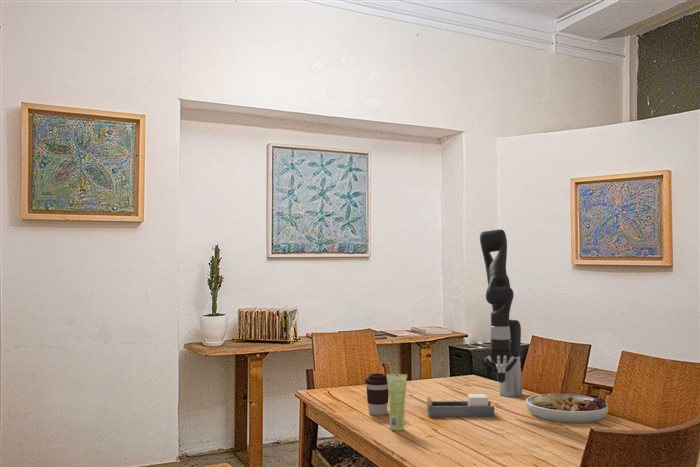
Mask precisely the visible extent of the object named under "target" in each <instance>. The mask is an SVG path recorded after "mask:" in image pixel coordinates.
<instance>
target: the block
mask: <svg viewBox="0 0 700 467" xmlns="http://www.w3.org/2000/svg"><path fill="white" fill-rule="evenodd" d="M467 401H468V406H488V401H489V397H488V396H487V394H486V393H479V394H478V393H467Z"/></svg>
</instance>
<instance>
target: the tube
mask: <svg viewBox="0 0 700 467" xmlns="http://www.w3.org/2000/svg"><path fill="white" fill-rule="evenodd" d="M385 375H386V377H387V383H388V393H389V396H388V405H389V429H390V430H391V431H393V432H394V431H396V432H399V431H403V430H404V429H405V407H406V406H405V405H406V392H407V390H406V389H407V379H408V374H405V373H404V374H403V373H402V374H395V373H394V374H393V373H391V374H390V373H388V374H387V373H386V374H385Z"/></svg>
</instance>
